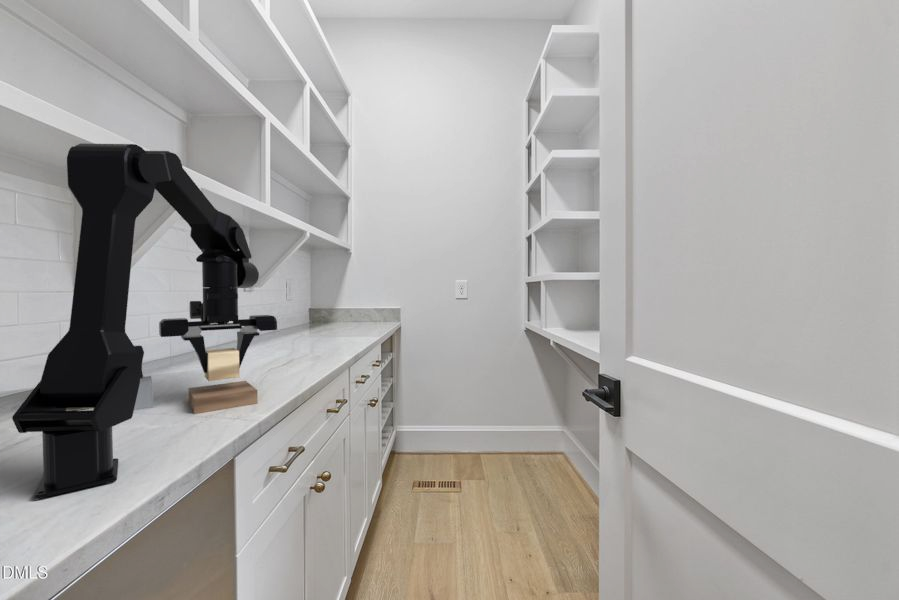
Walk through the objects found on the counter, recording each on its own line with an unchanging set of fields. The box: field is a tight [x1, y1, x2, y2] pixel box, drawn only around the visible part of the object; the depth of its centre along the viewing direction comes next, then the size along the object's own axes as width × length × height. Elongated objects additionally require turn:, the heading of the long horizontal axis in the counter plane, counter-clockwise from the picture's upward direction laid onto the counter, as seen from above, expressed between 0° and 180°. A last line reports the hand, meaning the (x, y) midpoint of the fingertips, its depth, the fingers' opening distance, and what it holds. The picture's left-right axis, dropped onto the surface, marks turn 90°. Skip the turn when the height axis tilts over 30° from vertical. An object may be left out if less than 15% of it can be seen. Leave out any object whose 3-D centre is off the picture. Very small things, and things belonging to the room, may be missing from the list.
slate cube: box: [134, 375, 154, 411], centre depth 73 cm, size 5×5×5 cm
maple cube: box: [204, 347, 240, 382], centre depth 75 cm, size 5×5×5 cm
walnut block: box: [187, 380, 258, 415], centre depth 76 cm, size 10×10×3 cm
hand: (221, 370), depth 75 cm, fingers closed on maple cube, 5 cm apart
